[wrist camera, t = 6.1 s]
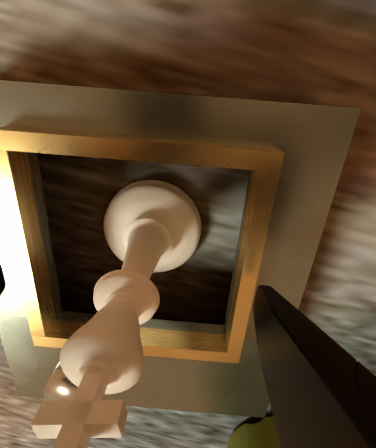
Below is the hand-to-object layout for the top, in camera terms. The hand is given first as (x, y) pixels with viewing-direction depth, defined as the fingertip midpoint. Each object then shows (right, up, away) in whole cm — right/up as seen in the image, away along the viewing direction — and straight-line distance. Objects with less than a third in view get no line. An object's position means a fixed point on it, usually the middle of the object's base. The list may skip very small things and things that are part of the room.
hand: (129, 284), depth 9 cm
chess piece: (0, +2, +5) cm, 5 cm away
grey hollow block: (0, 0, +5) cm, 5 cm away
